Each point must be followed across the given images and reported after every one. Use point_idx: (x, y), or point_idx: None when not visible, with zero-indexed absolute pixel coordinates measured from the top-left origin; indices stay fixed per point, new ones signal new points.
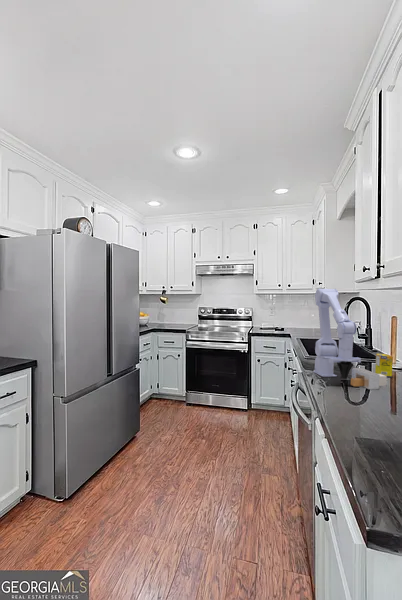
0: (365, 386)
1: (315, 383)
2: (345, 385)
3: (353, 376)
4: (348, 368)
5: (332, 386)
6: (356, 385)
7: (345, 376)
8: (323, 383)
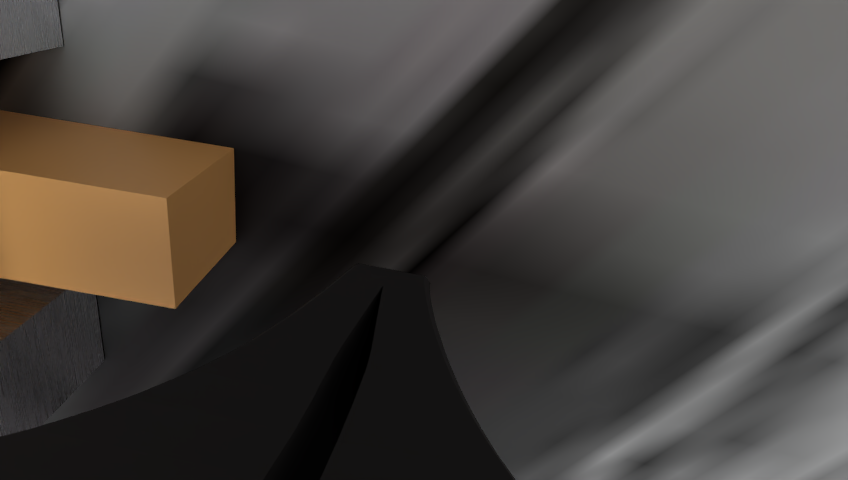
0: (36, 5)
1: (825, 456)
2: (367, 234)
3: (26, 395)
4: (260, 426)
5: (680, 255)
6: (176, 143)
7: (401, 290)
8: (681, 419)
